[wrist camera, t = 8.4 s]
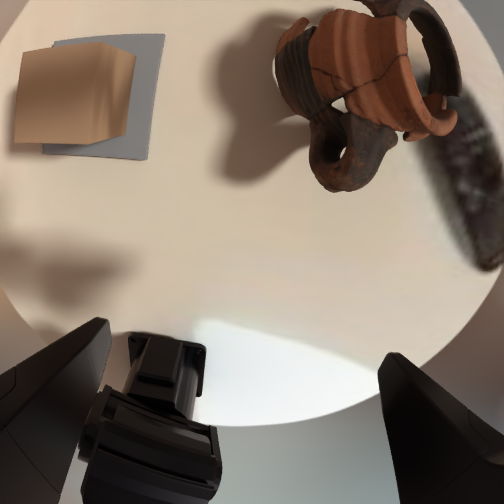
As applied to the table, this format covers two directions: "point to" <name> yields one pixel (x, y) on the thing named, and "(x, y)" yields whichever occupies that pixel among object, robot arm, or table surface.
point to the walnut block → (73, 94)
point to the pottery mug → (366, 86)
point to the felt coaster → (140, 99)
